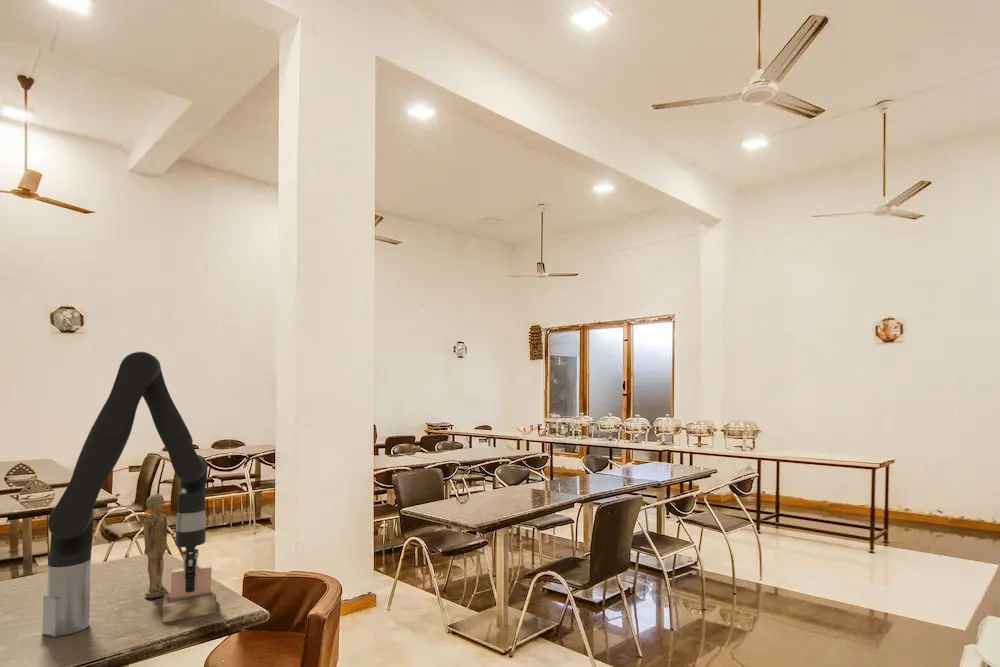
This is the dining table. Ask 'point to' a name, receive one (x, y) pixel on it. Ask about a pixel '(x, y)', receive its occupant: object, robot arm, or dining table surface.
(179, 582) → the pink square prism
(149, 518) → the sculpture
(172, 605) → the dispenser
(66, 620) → the robot arm
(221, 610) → the dining table surface
